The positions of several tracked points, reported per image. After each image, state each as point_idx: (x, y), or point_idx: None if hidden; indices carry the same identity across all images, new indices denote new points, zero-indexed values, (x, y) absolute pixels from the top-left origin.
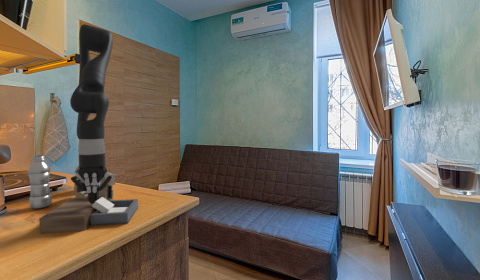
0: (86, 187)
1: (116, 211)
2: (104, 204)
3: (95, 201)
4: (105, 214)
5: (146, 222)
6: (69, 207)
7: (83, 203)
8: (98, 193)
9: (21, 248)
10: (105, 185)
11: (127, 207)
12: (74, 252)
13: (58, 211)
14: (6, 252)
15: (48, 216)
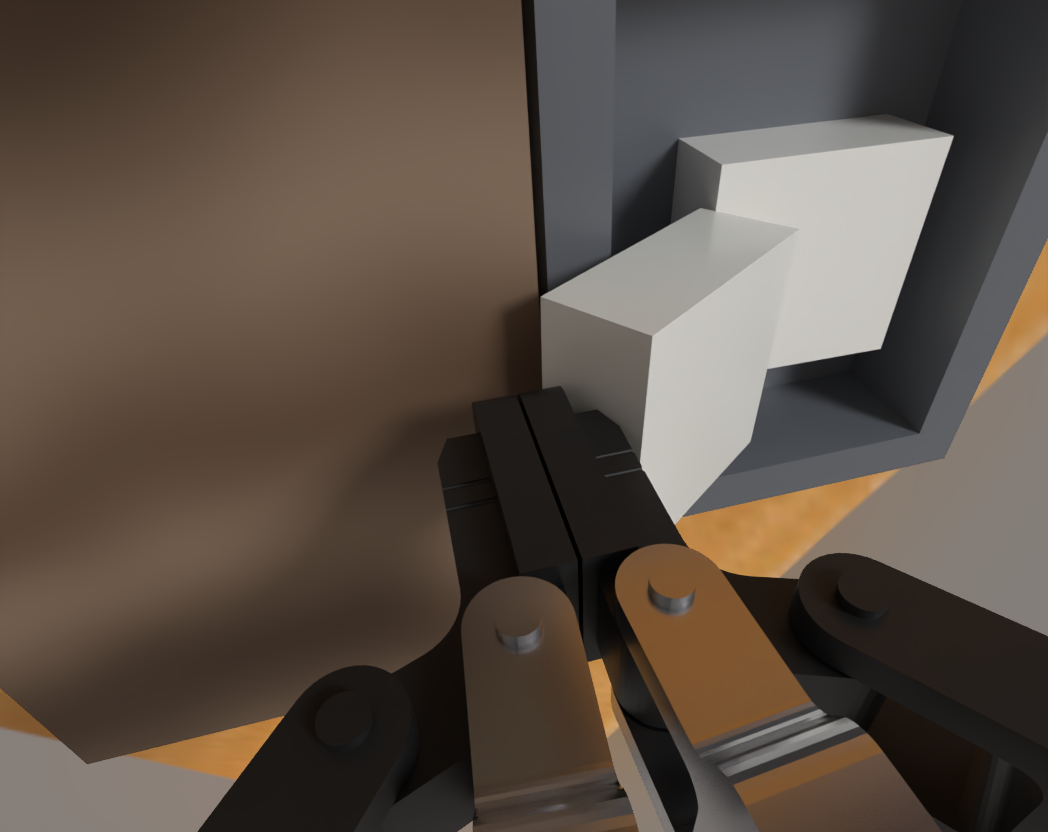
0: (446, 822)
1: (801, 331)
2: (710, 447)
3: None
4: (721, 506)
5: (1020, 357)
6: (93, 494)
7: (176, 286)
8: (667, 539)
9: (248, 733)
10: (992, 771)
11: (945, 140)
12: (605, 697)
13: (86, 620)
14: (201, 766)
15: (137, 721)
